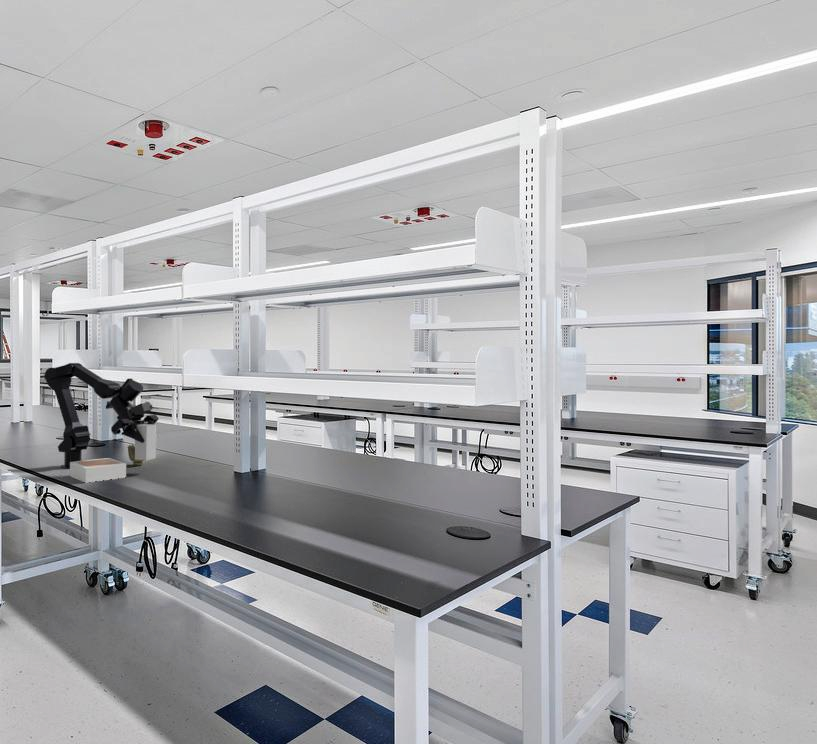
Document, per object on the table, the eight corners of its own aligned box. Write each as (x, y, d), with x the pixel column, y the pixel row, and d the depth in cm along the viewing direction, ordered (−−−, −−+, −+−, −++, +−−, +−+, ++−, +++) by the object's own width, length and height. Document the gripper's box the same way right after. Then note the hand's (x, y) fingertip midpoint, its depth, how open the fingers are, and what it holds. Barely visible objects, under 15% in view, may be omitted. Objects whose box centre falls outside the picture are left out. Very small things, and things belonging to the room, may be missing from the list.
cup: (130, 467, 221) (130, 447, 220) (125, 464, 226) (125, 444, 226) (150, 465, 225) (150, 445, 225) (145, 462, 231) (145, 443, 231)
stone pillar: (134, 459, 209) (135, 425, 209) (144, 457, 214) (145, 423, 214) (146, 460, 208) (146, 426, 208) (155, 458, 213) (156, 424, 212)
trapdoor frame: (69, 476, 204) (69, 462, 204) (109, 471, 214) (109, 457, 214) (85, 483, 194) (85, 468, 194) (126, 477, 204) (126, 463, 203)
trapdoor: (76, 473, 204) (76, 462, 204) (106, 469, 211) (106, 458, 211) (89, 478, 196) (89, 467, 196) (119, 474, 203) (119, 463, 203)
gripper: (118, 396, 203) (143, 429, 200) (155, 393, 221) (178, 423, 218) (99, 417, 205) (124, 450, 202) (137, 413, 223) (161, 443, 220)
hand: (148, 441), depth 211 cm, fingers closed on stone pillar, 5 cm apart
